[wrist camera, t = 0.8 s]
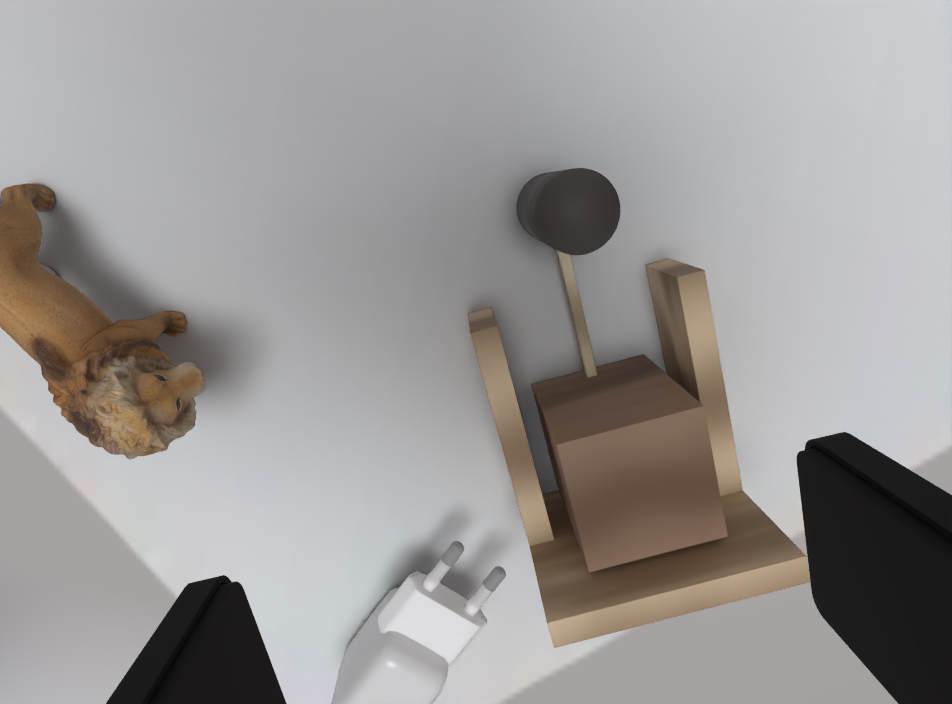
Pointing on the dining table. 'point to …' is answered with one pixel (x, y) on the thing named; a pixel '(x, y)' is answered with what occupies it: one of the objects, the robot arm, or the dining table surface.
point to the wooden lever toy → (617, 409)
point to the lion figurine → (91, 344)
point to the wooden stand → (664, 575)
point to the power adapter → (413, 639)
